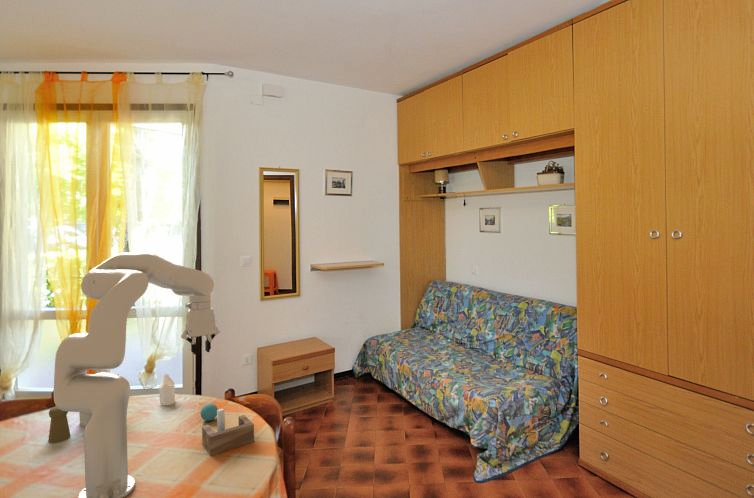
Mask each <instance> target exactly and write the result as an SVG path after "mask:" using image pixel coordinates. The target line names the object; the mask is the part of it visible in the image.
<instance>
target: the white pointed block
mask: <svg viewBox="0 0 754 498" xmlns="http://www.w3.org/2000/svg"><path fill="white" fill-rule="evenodd" d="M175 387H176V386H175V382H174V380H173V379H172V378H171V377H170V375H169V374H168V373H165V374H164V375H163V377H162V380H161V382H160V384H159V387H158V389H159V391H158V393H159V405H160V404H161V405H160V406H162V405H164V406H163V407H165V405H167V406H170V405H171V406H172V405H173V404H175V402H176V396H175V395H176V393H175V392H176V389H175Z"/></svg>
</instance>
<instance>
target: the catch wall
mask: <svg viewBox="0 0 754 498" xmlns="http://www.w3.org/2000/svg"><path fill="white" fill-rule="evenodd" d="M201 440H202V441H201V443H202V446H203V448H204V450H206V452H207V453H208V456H210V457H211V456H215V455H218V454H222V453H225V452H227V450H228V451H230V449H231V450H234V449H236V447H237V448H239V446H240V447H243V446H246V445H248V444H247V443H250V444H252V443H251V442H253V443H254V442H255V424H254V423H253V422H252V421H251V420H250V419H249V418H248V417H247V416H246V414H242V415H239V416H238V425H236V426H233V427H229V428H225V430H222V431H219V432H217V431H216V432H215V431H214V429H212V428H211V426H210V425H209V424H206V425H202V426H201ZM245 444H246V445H245ZM242 445H243V446H242ZM233 448H234V449H233Z"/></svg>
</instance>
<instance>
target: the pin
mask: <svg viewBox="0 0 754 498" xmlns="http://www.w3.org/2000/svg"><path fill="white" fill-rule="evenodd" d="M225 412H226V411H225V409H224V408H219V409H218V410H217V416H216V421H217V422H216V425H217V429H216V430H217V431H216V432H219V431H222V430H226V425H225V423H226V419H225V418H226V416H225V415H226V414H225Z"/></svg>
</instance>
